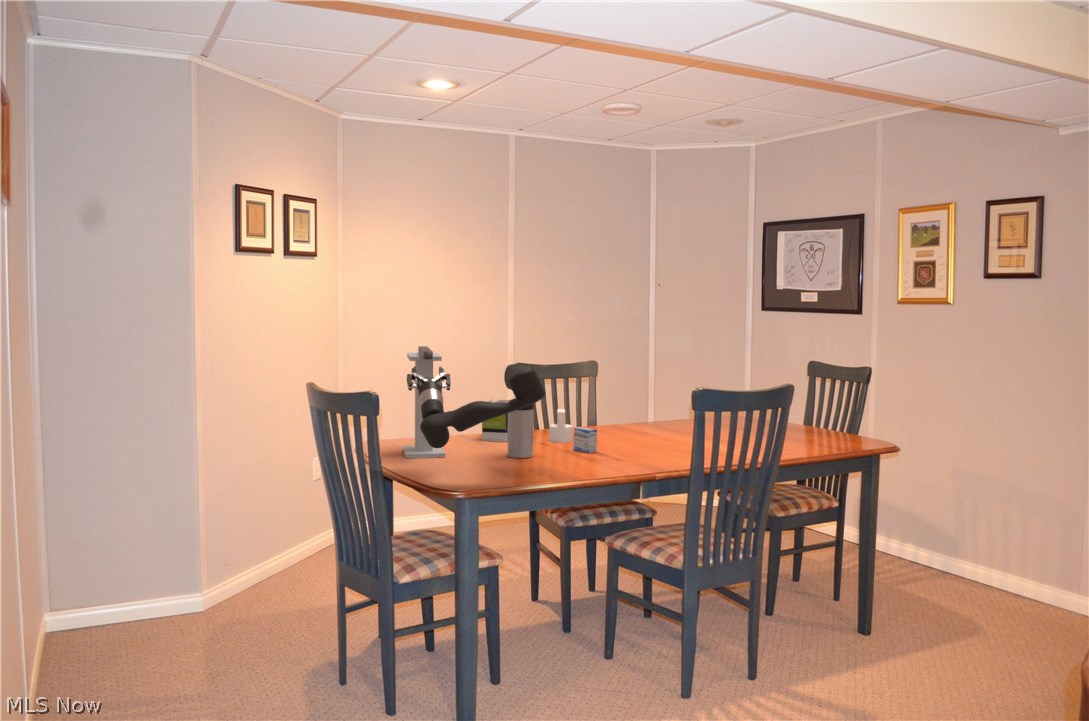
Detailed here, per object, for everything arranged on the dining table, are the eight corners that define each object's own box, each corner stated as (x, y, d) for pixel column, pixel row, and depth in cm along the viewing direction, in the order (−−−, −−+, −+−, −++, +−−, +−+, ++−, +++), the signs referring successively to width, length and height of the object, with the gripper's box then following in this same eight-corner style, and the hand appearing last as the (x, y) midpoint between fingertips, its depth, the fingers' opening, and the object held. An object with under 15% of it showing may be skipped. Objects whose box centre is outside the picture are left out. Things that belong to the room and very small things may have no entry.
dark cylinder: (433, 359, 294) (433, 352, 293) (423, 359, 293) (423, 352, 293) (426, 352, 319) (426, 346, 319) (417, 352, 319) (417, 346, 318)
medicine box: (573, 450, 325) (573, 427, 324) (580, 449, 328) (581, 426, 327) (589, 453, 320) (589, 430, 319) (596, 452, 323) (597, 429, 322)
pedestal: (445, 457, 308) (445, 356, 305) (405, 458, 305) (405, 356, 302) (440, 448, 324) (441, 352, 321) (402, 449, 321) (403, 352, 318)
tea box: (491, 434, 356) (491, 398, 354) (515, 435, 354) (515, 399, 352) (481, 441, 341) (481, 403, 340) (506, 442, 339) (506, 405, 338)
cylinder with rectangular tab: (572, 443, 340) (572, 412, 339) (549, 442, 340) (549, 412, 339) (571, 438, 349) (572, 409, 348) (549, 438, 349) (550, 408, 348)
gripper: (408, 407, 280) (405, 377, 293) (452, 407, 283) (447, 377, 296) (409, 389, 276) (406, 359, 288) (453, 389, 279) (449, 359, 292)
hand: (427, 368), depth 292 cm, fingers open, 8 cm apart
